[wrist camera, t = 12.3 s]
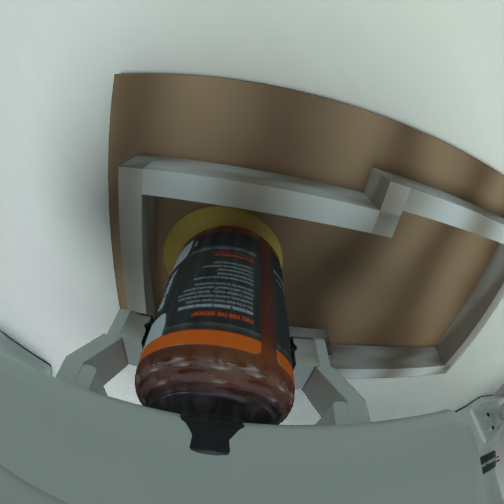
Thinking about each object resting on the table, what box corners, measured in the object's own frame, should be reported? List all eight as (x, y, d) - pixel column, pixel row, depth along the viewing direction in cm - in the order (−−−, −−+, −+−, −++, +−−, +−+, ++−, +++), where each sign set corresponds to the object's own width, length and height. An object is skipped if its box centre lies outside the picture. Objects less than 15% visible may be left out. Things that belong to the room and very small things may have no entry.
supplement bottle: (159, 243, 16) (74, 430, 6) (257, 204, 14) (259, 430, 5) (208, 316, 19) (181, 486, 9) (295, 290, 17) (319, 479, 8)
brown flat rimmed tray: (523, 189, 14) (547, 206, 11) (420, 367, 24) (429, 390, 21) (119, 74, 12) (90, 73, 9) (129, 341, 22) (118, 368, 19)
